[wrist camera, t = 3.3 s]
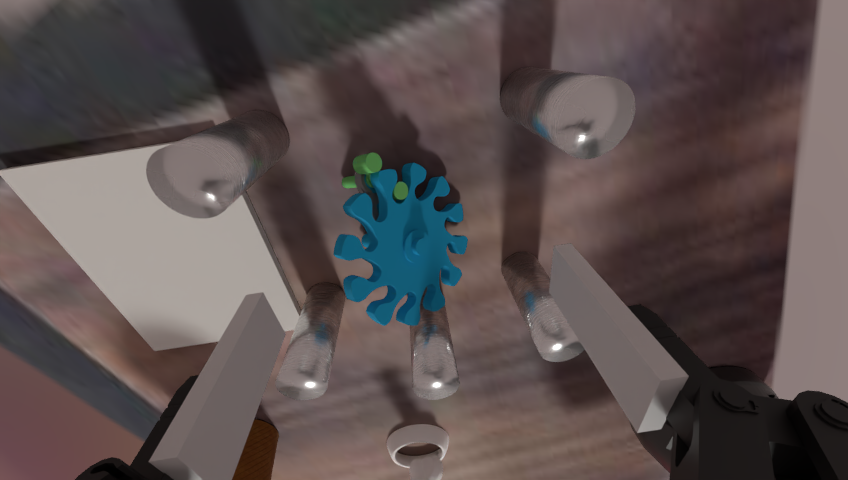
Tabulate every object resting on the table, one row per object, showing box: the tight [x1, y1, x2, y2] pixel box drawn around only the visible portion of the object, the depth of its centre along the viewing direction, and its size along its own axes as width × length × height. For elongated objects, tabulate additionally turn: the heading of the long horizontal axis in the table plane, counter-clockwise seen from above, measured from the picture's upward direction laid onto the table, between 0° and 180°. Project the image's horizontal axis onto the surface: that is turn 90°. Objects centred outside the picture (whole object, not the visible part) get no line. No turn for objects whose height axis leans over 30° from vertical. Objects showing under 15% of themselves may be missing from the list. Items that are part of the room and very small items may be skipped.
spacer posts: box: [146, 67, 635, 400], centre depth 20 cm, size 19×18×8 cm
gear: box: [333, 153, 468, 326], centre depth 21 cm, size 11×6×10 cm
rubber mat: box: [0, 141, 301, 351], centre depth 23 cm, size 13×16×1 cm
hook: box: [387, 424, 449, 480], centre depth 35 cm, size 8×12×7 cm
